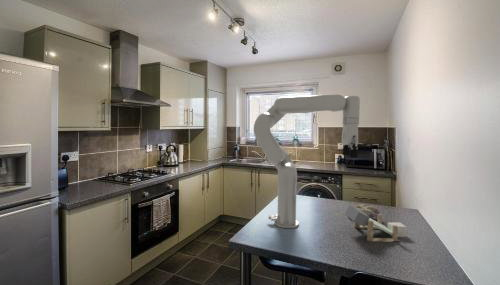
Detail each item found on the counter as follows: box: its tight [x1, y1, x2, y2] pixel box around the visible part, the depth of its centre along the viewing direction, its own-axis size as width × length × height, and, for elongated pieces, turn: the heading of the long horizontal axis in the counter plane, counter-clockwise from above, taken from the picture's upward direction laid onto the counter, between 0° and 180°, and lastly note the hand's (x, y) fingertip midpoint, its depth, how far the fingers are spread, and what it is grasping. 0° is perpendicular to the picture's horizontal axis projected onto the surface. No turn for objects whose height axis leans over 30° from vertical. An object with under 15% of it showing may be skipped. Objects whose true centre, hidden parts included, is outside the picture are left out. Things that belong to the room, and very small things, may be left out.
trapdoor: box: [345, 204, 393, 236], centre depth 119 cm, size 20×12×5 cm, turn 91°
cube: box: [386, 221, 407, 238], centre depth 119 cm, size 5×5×6 cm
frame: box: [354, 214, 399, 243], centre depth 119 cm, size 13×15×9 cm
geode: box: [346, 203, 380, 219], centre depth 141 cm, size 17×9×15 cm
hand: (349, 156), depth 124 cm, fingers open, 9 cm apart
